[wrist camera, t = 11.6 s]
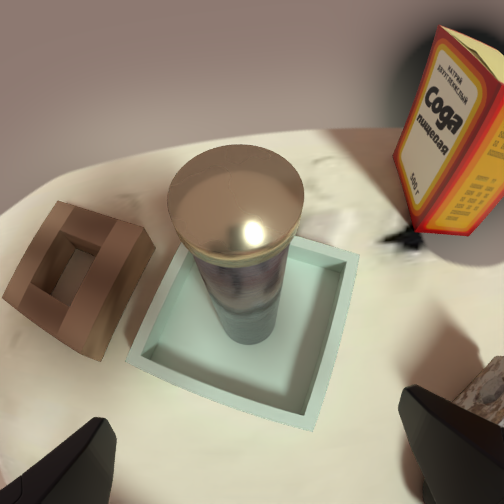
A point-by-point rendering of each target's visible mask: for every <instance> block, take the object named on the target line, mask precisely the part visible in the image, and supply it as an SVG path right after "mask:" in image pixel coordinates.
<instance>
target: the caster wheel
mask: <svg viewBox="0 0 504 504" xmlns="http://www.w3.org/2000/svg"><path fill="white" fill-rule="evenodd" d="M452 403H454V404H456V405H458V406H460V407H462V408H464V409H466V410H468V411H470V412H472V413H474V414H476V415H479V416H481V417H483V418H485V419H487V420H489V421H491V422H493V423H495V424H498V425H500V426H501V427H504V356H496V357H494V358H493V359H492V360H491V362H490V363H489V364H488V365H487V366H486V367H485V368H484V370H483V371H482V372H481V373H480V374H479V375H478V376H477V377H476V378H475V379H474V380H473V382H472V383H471V384H470V385H469V386H468V387H467V388H466V389H465V390H464V391H463V392H462V393H461V394H460V395H459V396H458V397H457V398H456V399H455V400H454V401H453V402H452ZM422 493H423V499H424V502H425V504H436V502H435V500H434V497H433V495H432V493H431V491H430V488H429V486H428V484H427V482H426V480H425V479H424V483H423V492H422Z"/></svg>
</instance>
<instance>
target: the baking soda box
mask: <svg viewBox="0 0 504 504" xmlns="http://www.w3.org/2000/svg"><path fill="white" fill-rule="evenodd" d="M393 159H394V162H395V165H396V168H397V171H398V174H399V177H400V181H401V184H402V187H403V191H404V194H405V197H406V201H407V205H408V208H409V212H410V216H411V220H412V224H413V228H414V232H422V233H435V234H447V235H460V236H469V235H470V234H471V233H472V232H473V231H474V230H475V229H476V228H477V227H478V226H479V225H480V223H481V222H482V221H483V220H484V219H485V218H486V216H487V215H488V214H489V213H490V212H491V211H492V210H493V208H494V207H495V206H496V204H498V202H499V201H500V200H501V199H502V198H503V196H504V56H503V55H502V54H501V53H500V52H499V51H498V50H497V49H495V48H493V47H490V46H488V45H486V44H484V43H482V42H480V41H478V40H476V39H473V38H471V37H469V36H466V35H464V34H462V33H459V32H457V31H454V30H452V29H449V28H446V27H443V26H441V25H438V27H437V31H436V35H435V38H434V42H433V45H432V48H431V51H430V55H429V58H428V61H427V64H426V67H425V70H424V73H423V76H422V79H421V82H420V85H419V88H418V91H417V94H416V96H415V100H414V102H413V105H412V108H411V110H410V113H409V116H408V118H407V121H406V123H405V126H404V129H403V131H402V134H401V136H400V139H399V141H398V144H397V146H396V149H395V151H394V153H393Z"/></svg>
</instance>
